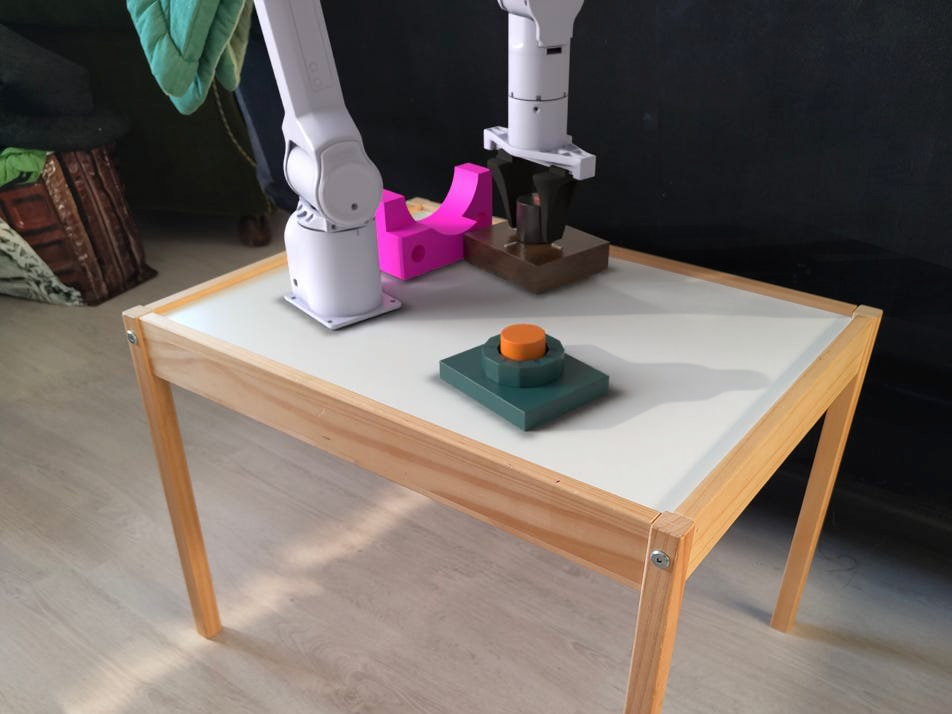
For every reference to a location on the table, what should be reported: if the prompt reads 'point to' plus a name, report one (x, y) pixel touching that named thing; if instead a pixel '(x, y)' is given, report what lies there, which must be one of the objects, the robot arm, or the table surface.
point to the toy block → (433, 225)
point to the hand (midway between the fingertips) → (535, 232)
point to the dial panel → (536, 256)
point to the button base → (524, 382)
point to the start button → (523, 342)
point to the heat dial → (529, 219)
